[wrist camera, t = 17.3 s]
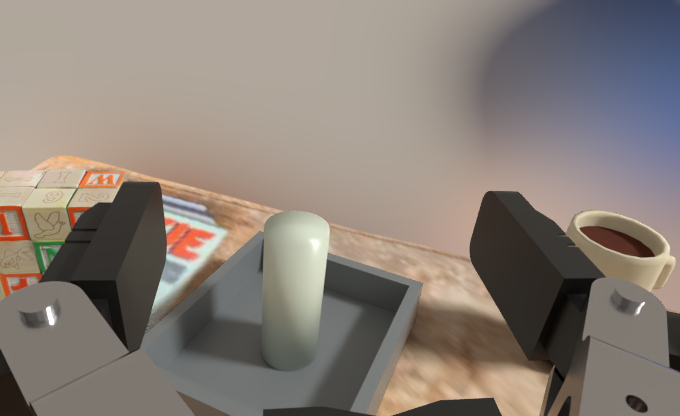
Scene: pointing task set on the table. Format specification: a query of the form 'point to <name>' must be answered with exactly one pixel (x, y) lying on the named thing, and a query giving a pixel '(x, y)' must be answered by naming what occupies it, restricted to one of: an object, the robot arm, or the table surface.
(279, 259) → the canister
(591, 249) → the character mug
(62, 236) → the stack of blocks
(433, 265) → the table surface
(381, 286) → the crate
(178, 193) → the table surface
